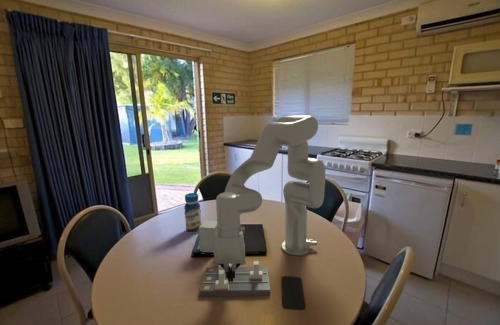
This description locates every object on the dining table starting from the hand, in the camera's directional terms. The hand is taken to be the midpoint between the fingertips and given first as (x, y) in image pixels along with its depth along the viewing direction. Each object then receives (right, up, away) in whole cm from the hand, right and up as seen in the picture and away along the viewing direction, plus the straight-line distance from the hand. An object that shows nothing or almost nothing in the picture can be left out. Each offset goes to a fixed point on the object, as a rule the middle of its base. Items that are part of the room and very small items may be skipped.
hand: (230, 279), depth 82 cm
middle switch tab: (+9, -2, +5) cm, 10 cm away
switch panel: (+1, -4, +6) cm, 7 cm away
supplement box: (-12, 0, +28) cm, 30 cm away
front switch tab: (-3, -3, +1) cm, 4 cm away
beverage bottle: (-24, +4, +47) cm, 52 cm away
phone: (+21, -5, +1) cm, 22 cm away
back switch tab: (-3, -1, +10) cm, 11 cm away
